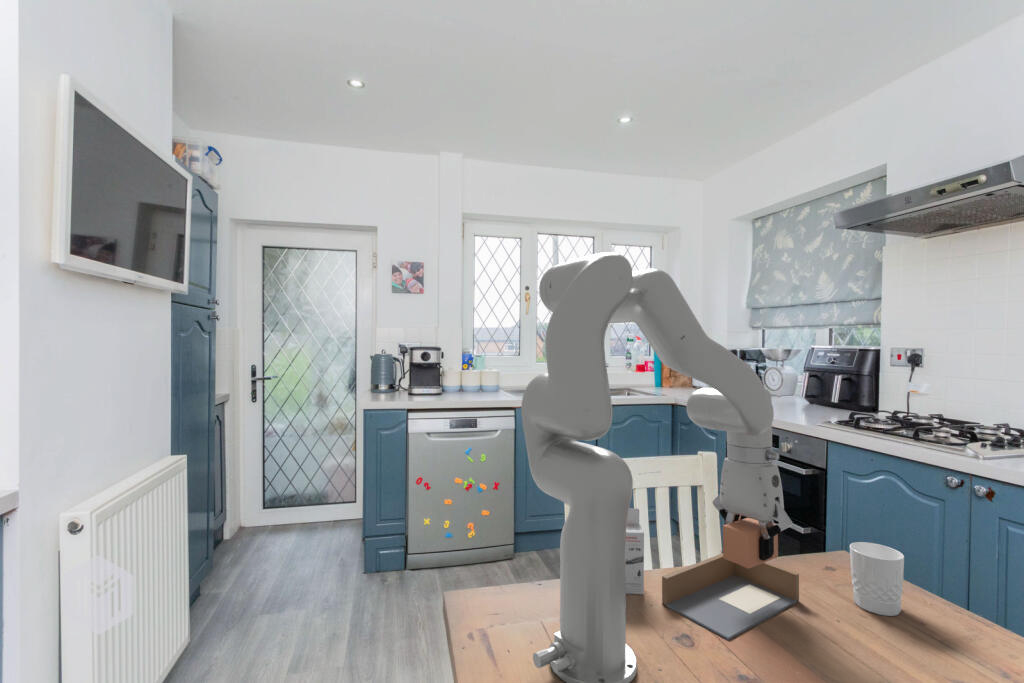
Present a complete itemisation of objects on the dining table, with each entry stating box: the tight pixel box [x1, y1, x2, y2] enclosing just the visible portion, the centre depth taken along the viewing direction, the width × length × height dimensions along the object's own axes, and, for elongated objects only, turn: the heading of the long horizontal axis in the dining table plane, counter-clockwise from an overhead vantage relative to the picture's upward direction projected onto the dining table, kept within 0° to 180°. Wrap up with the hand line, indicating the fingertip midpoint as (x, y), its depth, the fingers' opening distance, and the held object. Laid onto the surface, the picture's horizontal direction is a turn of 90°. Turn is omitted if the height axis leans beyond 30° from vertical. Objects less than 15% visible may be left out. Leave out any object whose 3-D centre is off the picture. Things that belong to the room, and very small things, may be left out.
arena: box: [661, 552, 800, 641], centre depth 88 cm, size 22×13×5 cm, turn 123°
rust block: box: [722, 517, 779, 569], centre depth 89 cm, size 5×9×6 cm, turn 121°
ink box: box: [626, 507, 645, 595], centre depth 94 cm, size 9×5×15 cm, turn 84°
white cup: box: [849, 541, 905, 617], centre depth 87 cm, size 8×8×10 cm
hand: (750, 551), depth 89 cm, fingers closed on rust block, 5 cm apart
